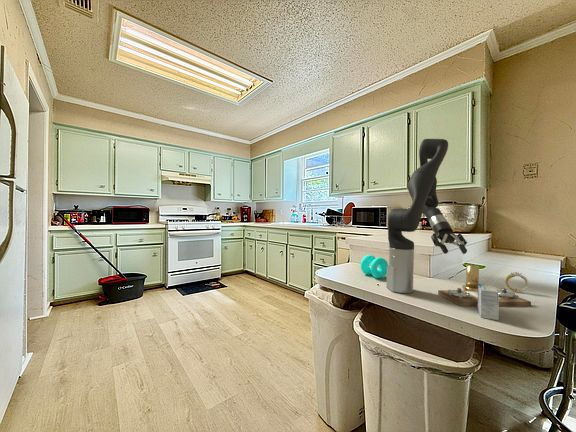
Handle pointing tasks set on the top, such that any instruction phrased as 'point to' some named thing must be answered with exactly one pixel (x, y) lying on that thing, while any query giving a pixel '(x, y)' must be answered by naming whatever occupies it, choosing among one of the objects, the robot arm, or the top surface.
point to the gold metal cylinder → (471, 277)
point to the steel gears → (462, 294)
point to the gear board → (474, 299)
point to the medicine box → (488, 302)
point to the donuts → (374, 266)
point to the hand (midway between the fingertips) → (456, 252)
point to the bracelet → (514, 276)
